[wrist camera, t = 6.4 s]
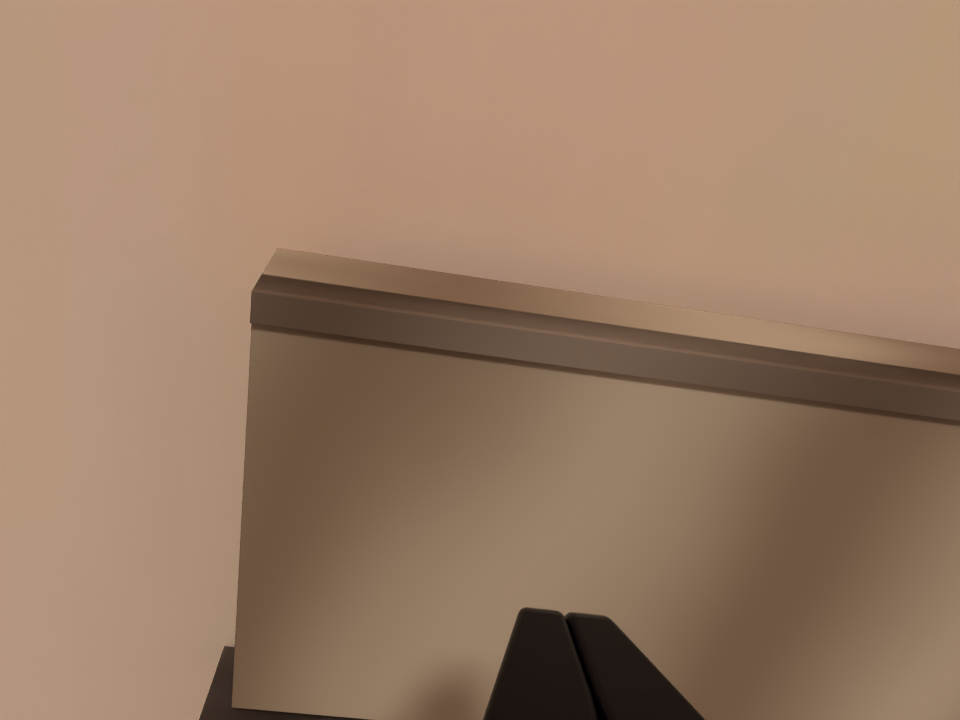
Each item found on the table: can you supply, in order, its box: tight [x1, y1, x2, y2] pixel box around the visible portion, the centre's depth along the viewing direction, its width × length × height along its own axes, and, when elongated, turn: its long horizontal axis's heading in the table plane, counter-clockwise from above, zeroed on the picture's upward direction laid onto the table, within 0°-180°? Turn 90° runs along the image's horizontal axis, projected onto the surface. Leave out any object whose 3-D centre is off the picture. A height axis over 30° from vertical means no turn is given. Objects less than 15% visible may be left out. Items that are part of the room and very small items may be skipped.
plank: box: [232, 248, 960, 720], centre depth 12 cm, size 17×7×2 cm, turn 80°
